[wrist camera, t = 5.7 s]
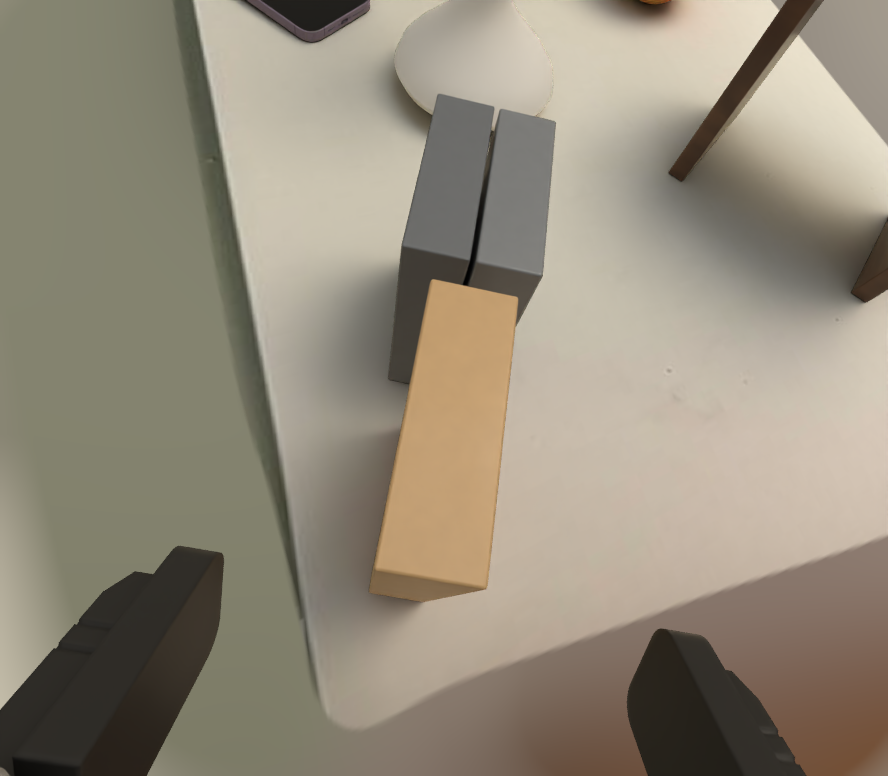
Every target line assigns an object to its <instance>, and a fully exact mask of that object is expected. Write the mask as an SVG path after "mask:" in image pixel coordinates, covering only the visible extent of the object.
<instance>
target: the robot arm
mask: <svg viewBox="0 0 888 776" xmlns="http://www.w3.org/2000/svg"><path fill="white" fill-rule="evenodd" d="M223 565H224V558H223V554H222V553H219V552H214V551H208V550H201V549H195V548H190V547H184V546H177V547H175V548H174V549H173V550H172V551H171V552H170V554H169V555H168V556H167V557H166V559H165V560H164V561H163V563H162V564H161V565H160V566H159V568H158V569H157V570H156V572H155V573H154V574H148V573H142V572H133V573H132V574H130V575H129V576H127V577H126V578H124V579H123V580H121V581H119V582H118V583H116V584H114V585H113V586H111V587H110V588H108V589H107V590H105V591H103V592H102V593H101V595H100V596H99V597H98V598H97V599H96V600H95V602H94V603H93V604H92V605H91V606H90V607H89V609H88V610H87V611H86V612H85V613H84V614H83V615H82V617H81V618H80V619H79V622H78V624H77V625H75V624H74V626H73V627H72V628H71V629H70V630H69V631H68V633H67V634H66V635H65V636H64V637H63V638H62V640H61V641H60V642H59V645H58V647H57V648H56V649H55V648H54V649H53V650H52V651H51V652H50V653H49V654H48V656H47V657H46V658H45V659H44V660H43V661H42V663H41V664H40V665H39V666H38V667H37V668H36V669H35V671H34V672H33V673H32V674H31V675H30V676H29V677H28V679H27V680H26V681H25V682H24V683H23V684H22V685H21V687H20V688H19V689H18V690H17V691H16V692H15V693H14V695H13V696H12V697H11V698H10V699H9V700H8V702H7V703H6V704H5V705H4V706H3V707H2V708H1V710H0V776H147V774H148V772H149V770H150V768H151V766H152V764H153V762H154V760H155V759H156V757H157V755H158V752H159V751H160V749H161V747H162V745H163V743H164V741H165V739H166V737H167V735H168V733H169V732H170V730H171V728H172V726H173V724H174V722H175V720H176V718H177V716H178V714H179V712H180V710H181V708H182V706H183V704H184V702H185V701H186V698H187V697H188V695H189V693H190V691H191V689H192V687H193V685H194V683H195V681H196V679H197V677H198V676H199V674H200V672H201V670H202V668H203V666H204V664H205V662H206V660H207V658H208V656H209V654H210V651H211V649H212V646H213V644H214V641H215V638H216V634H217V630H218V626H219V621H220V609H221V596H222V580H223V567H224V566H223ZM627 710H628V717H629V722H630V725H631V728H632V731H633V734H634V737H635V740H636V742H637V746H638V749H639V751H640V754H641V757H642V760H643V763H644V766H645V768H646V771H647V774H648V776H806V775H805V773H804V771H803V770H802V768H801V767H800V765H797V764H796V763H795V757H794V755H793V754H792V752H791V750H790V749H789V747H788V746H787V744H786V742H785V741H784V739H783V738H782V737H779V735H778V730H777V728H776V726H775V725H774V723H773V721H772V720H771V718H770V717H769V715H768V714H767V712H766V710H765V709H764V707H763V706H762V704H761V702H760V701H759V699H758V698H757V697H756V696H755V695H754V694H753V693H752V692H751V691H750V690H749V689H748V688H747V687H746V686H745V685H744V684H743V682H742V681H740V680H739V678H738V677H737V676H736V675H735V674H734V673H733V672H732V671H728V670H725V669H724V667H723V665H722V664H721V662H720V660H719V659H718V657H717V655H716V653H715V652H714V650H713V648H712V647H711V645H710V644H709V642H708V641H707V640H706V639H705V638H704V637H703V636H701V635H697V634H691V633H685V632H679V631H673V630H667V629H658V630H657V631H656V632H655V633H654V634H653V636H652V638H651V640H650V642H649V644H648V647H647V649H646V651H645V653H644V656H643V658H642V660H641V662H640V664H639V666H638V668H637V671H636V673H635V675H634V677H633V679H632V682H631V684H630V687H629V690H628V696H627Z"/></svg>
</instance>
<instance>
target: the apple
mask: <svg viewBox="0 0 888 776" xmlns="http://www.w3.org/2000/svg"><path fill="white" fill-rule="evenodd" d="M640 1H642V2H645V3H648V4H661V3H665V2H668V1H671V0H640Z"/></svg>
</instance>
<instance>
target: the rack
mask: <svg viewBox="0 0 888 776" xmlns="http://www.w3.org/2000/svg"><path fill="white" fill-rule="evenodd" d="M823 1H824V0H787V1H786V2H785V4H784V5H783V7H782V8H781V10H780V11H779V12H778V14H777V15H776V17H775V18H774V20H773V21H772V23H771V24H770V26H769V27H768V28H767V30H766V31H765V33H764V34H763V36H762V37H761V39H760V40H759V41H758V43H757V44H756V46H755V47H754V49H753V50H752V52H751V53H750V55H749V56H748V57H747V59H746V60H745V62H744V63H743V65H742V66H741V68H740V69H739V71H738V72H737V73H736V75H735V76H734V78H733V79H732V81H731V82H730V84H729V85H728V87H727V88H726V89H725V91H724V92H723V94H722V95H721V97H720V98H719V100H718V101H717V103H716V104H715V105H714V107H713V108H712V110H711V111H710V113H709V114H708V116H707V117H706V118H705V120H704V121H703V123H702V124H701V126H700V127H699V129H698V130H697V132H696V133H695V134H694V136H693V137H692V139H691V140H690V142H689V143H688V145H687V146H686V148H685V149H684V150H683V152H682V153H681V155H680V156H679V158H678V159H677V161H676V162H675V164H674V165H673V166H672V168H671V169H670V171H669V173H670V174H671V175H673V176H674V177H676V178H677V179H679V180H680V181H683V180H684V179H685V178H686V177H687V175H688V174H689V173H690V172H691V171H692V169H693V168H694V167H695V166H696V165H697V163H698V162H699V161H700V160H701V159H702V157H703V156H704V155H705V154H706V153H707V152H708V150H709V149H710V148H711V147H712V146H713V144H714V143H715V142H716V141H717V140H718V138H719V137H720V136H721V135H722V134H723V132H724V131H725V130H726V129H727V128H728V126H729V125H730V124H731V123H732V122H733V121H734V119H735V118H736V117H737V116H738V114H739V113H740V112H741V110H742V109H743V108H744V106H745V105H746V104H747V102H748V101H749V100H750V98H751V97H752V96H753V94H754V93H755V92H756V90H757V89H758V88H759V86H760V85H761V84H762V82H763V81H764V80H765V78H766V77H767V76H768V74H769V73H770V72H771V70H772V69H773V68H774V66H775V65H776V63H777V62H778V61H779V59H780V58H781V57H782V55H783V54H784V53H785V51H786V50H787V49H788V47H789V46H790V45H791V43H792V42H793V41H794V39H795V38H796V37H797V35H798V34H799V33H800V31H801V30H802V29H803V27H804V26H805V25H806V23H807V22H808V21H809V19H810V18H811V17H812V15H813V14H814V13H815V11H816V10H817V8H818V7H819V6H820V5H821V3H822V2H823ZM886 290H888V220H887V222H886V224H885V226H884V228H883V230H882V232H881V234H880V236H879V238H878V240H877V242H876V244H875V246H874V248H873V250H872V252H871V254H870V256H869V258H868V260H867V262H866V264H865V266H864V268H863V270H862V272H861V274H860V276H859V278H858V280H857V282H856V284H855V286H854V288H853V290H852V292H851V293H852V294H854V295H855V296H857V297H858V298H860V299H861V300H863V301H864V302H868V301H870V300H871V299H873V298H875V297H876V296H878V295H880V294H881V293H883V292H884V291H886Z"/></svg>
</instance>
